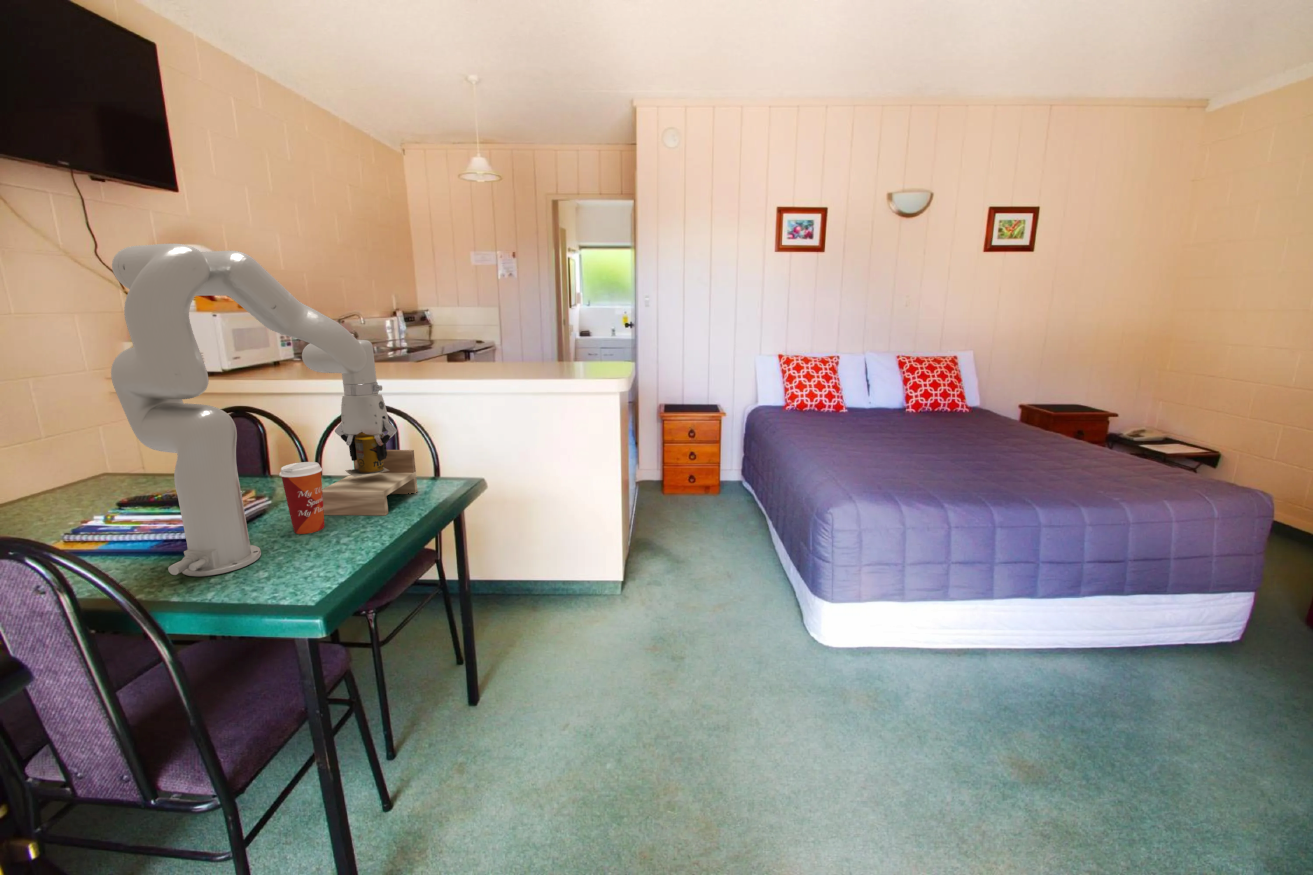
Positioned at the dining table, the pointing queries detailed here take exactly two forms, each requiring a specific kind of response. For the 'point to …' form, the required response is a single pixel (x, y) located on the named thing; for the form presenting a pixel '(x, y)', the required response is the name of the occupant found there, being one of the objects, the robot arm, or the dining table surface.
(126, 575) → the dining table surface
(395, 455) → the shelf
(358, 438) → the condiment
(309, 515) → the coffee cup
